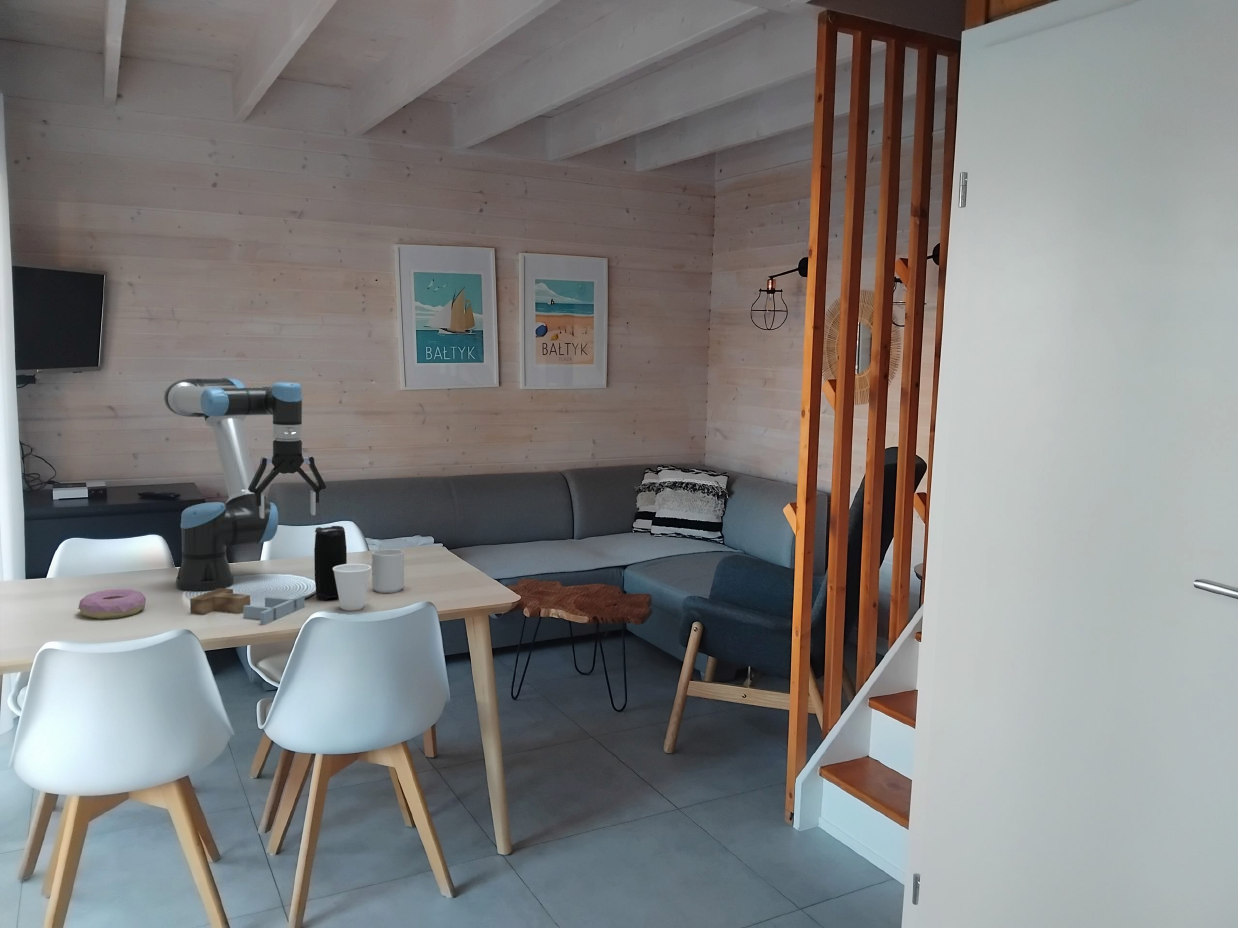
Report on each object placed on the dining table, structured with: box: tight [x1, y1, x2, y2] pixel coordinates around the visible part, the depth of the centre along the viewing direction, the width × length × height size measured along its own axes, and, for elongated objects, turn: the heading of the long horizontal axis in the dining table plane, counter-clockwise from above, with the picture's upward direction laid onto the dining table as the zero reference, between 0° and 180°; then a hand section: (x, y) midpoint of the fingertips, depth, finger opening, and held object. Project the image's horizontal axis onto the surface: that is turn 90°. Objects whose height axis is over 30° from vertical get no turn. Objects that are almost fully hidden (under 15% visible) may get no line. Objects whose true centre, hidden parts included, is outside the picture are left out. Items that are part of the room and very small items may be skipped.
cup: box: [333, 563, 372, 612], centre depth 255 cm, size 10×10×11 cm
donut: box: [77, 588, 147, 620], centre depth 246 cm, size 16×15×5 cm
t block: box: [189, 587, 251, 616], centre depth 251 cm, size 12×12×4 cm
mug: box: [371, 548, 405, 594], centre depth 276 cm, size 12×9×11 cm
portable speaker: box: [313, 525, 348, 602], centre depth 265 cm, size 9×9×20 cm
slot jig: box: [242, 595, 306, 626], centre depth 248 cm, size 9×18×3 cm, turn 166°
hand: (287, 516), depth 264 cm, fingers open, 13 cm apart
